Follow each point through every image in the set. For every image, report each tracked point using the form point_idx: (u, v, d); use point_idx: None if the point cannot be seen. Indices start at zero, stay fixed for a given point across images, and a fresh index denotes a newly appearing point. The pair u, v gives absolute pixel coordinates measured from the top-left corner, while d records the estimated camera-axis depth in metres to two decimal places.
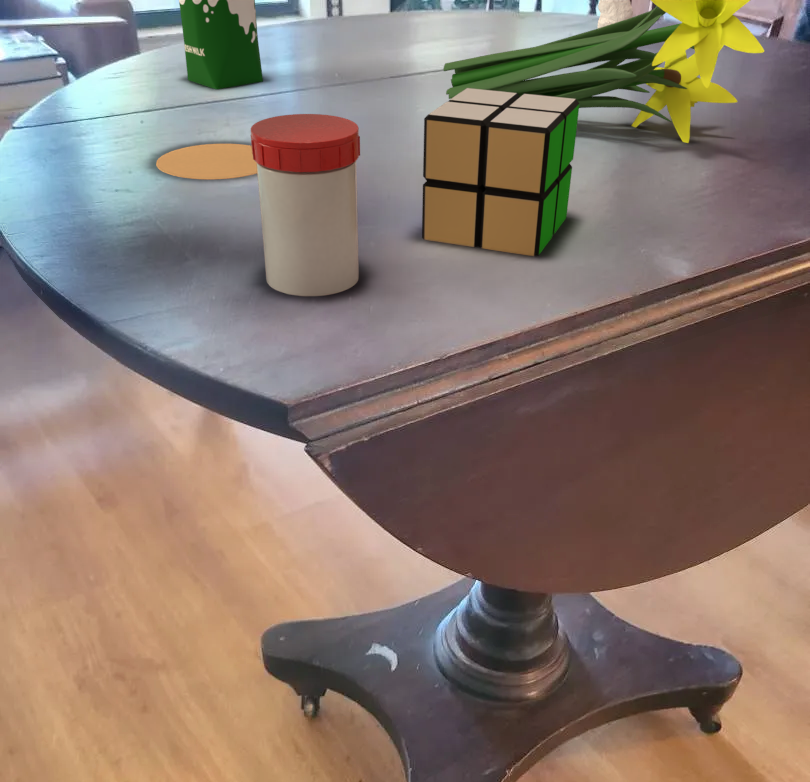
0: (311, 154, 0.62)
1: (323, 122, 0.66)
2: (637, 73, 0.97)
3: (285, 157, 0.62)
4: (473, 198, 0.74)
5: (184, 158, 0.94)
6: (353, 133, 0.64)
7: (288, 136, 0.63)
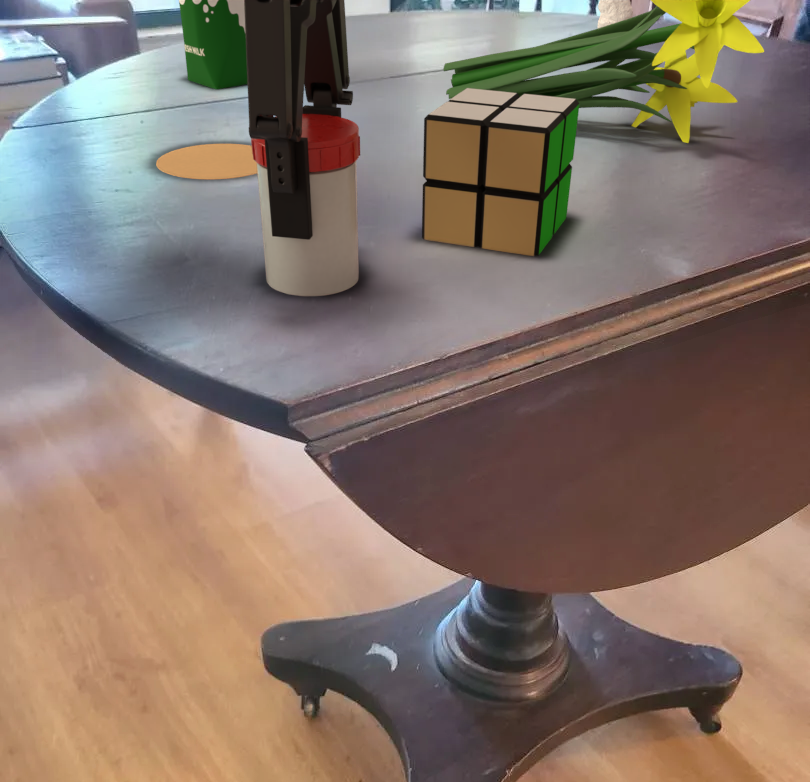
0: (311, 154, 0.62)
1: (323, 122, 0.66)
2: (637, 73, 0.97)
3: None
4: (473, 198, 0.74)
5: (184, 158, 0.94)
6: (353, 133, 0.64)
7: None
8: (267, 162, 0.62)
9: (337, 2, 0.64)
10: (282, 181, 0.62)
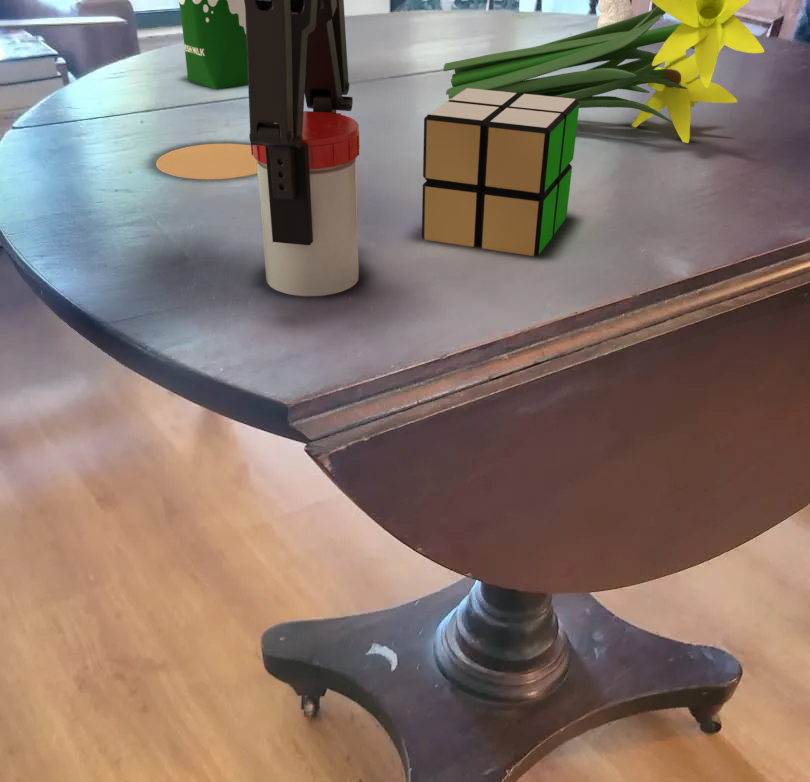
0: None
1: None
2: (637, 73, 0.97)
3: None
4: (473, 198, 0.74)
5: (184, 158, 0.94)
6: None
7: (339, 122, 0.65)
8: (268, 168, 0.62)
9: (337, 9, 0.65)
10: (283, 187, 0.62)
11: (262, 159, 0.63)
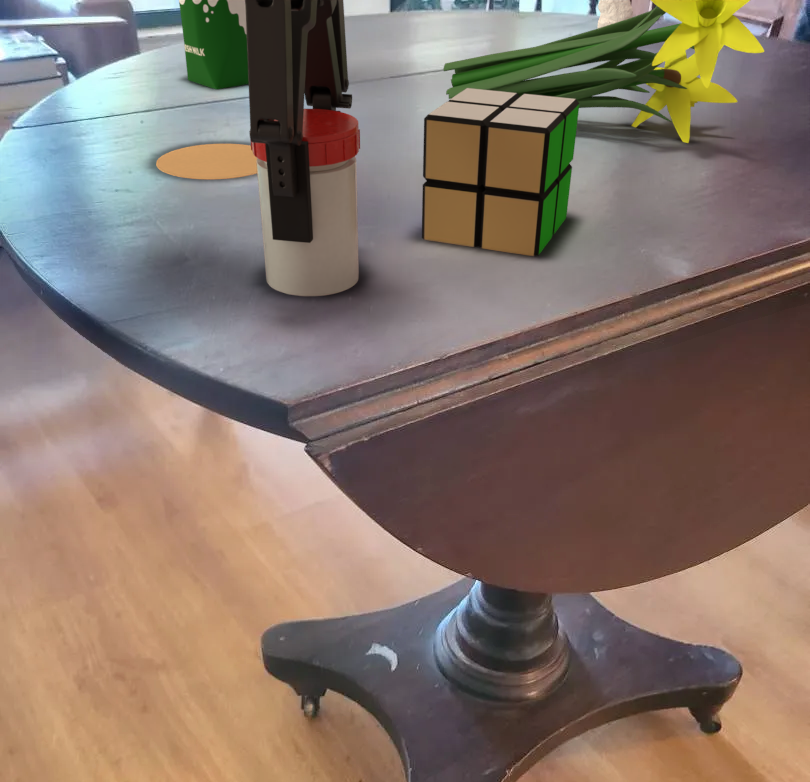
0: None
1: (317, 128, 0.63)
2: (637, 73, 0.97)
3: None
4: (473, 198, 0.74)
5: (184, 158, 0.94)
6: None
7: None
8: (268, 166, 0.62)
9: (336, 6, 0.64)
10: (283, 185, 0.62)
11: (357, 150, 0.65)
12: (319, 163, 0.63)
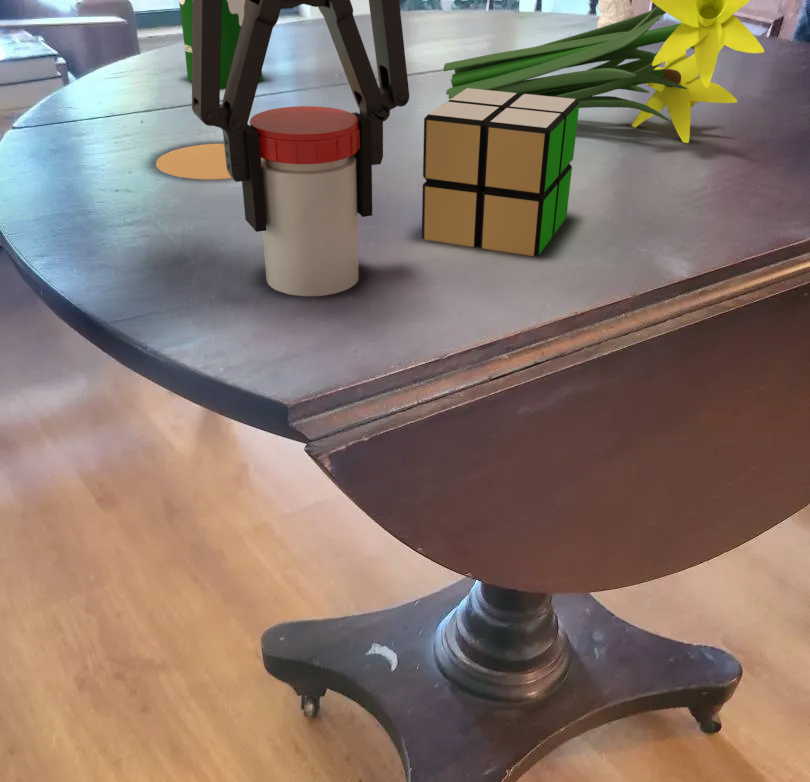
0: (329, 144, 0.62)
1: (315, 113, 0.66)
2: (637, 73, 0.97)
3: (303, 150, 0.62)
4: (473, 198, 0.74)
5: (184, 158, 0.94)
6: (357, 120, 0.64)
7: (299, 129, 0.62)
8: (371, 144, 0.66)
9: None
10: None
11: None
12: None
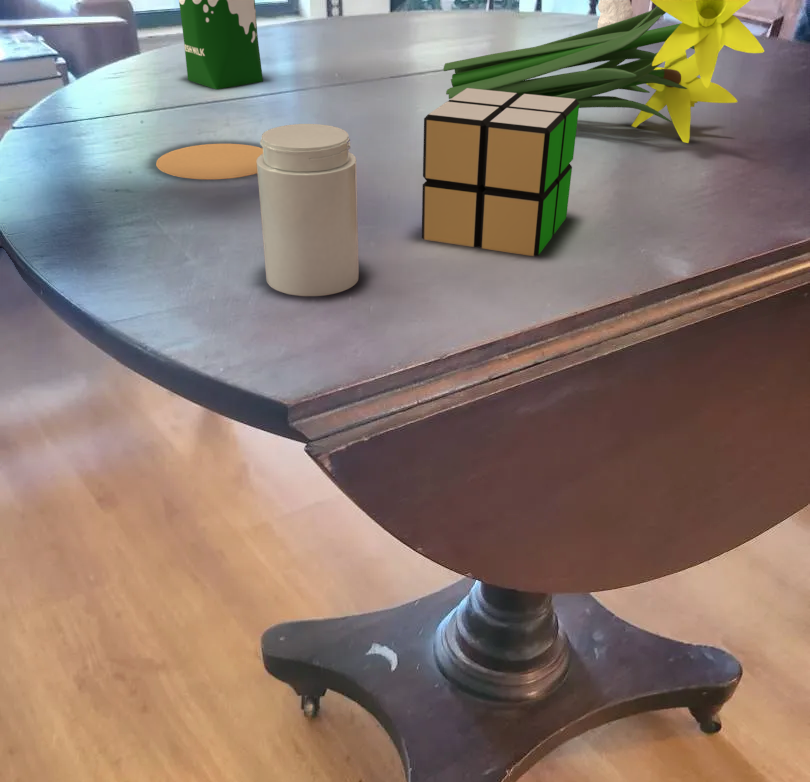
0: None
1: None
2: (637, 73, 0.97)
3: None
4: (473, 198, 0.74)
5: (184, 158, 0.94)
6: None
7: None
8: None
9: None
10: None
11: None
12: None
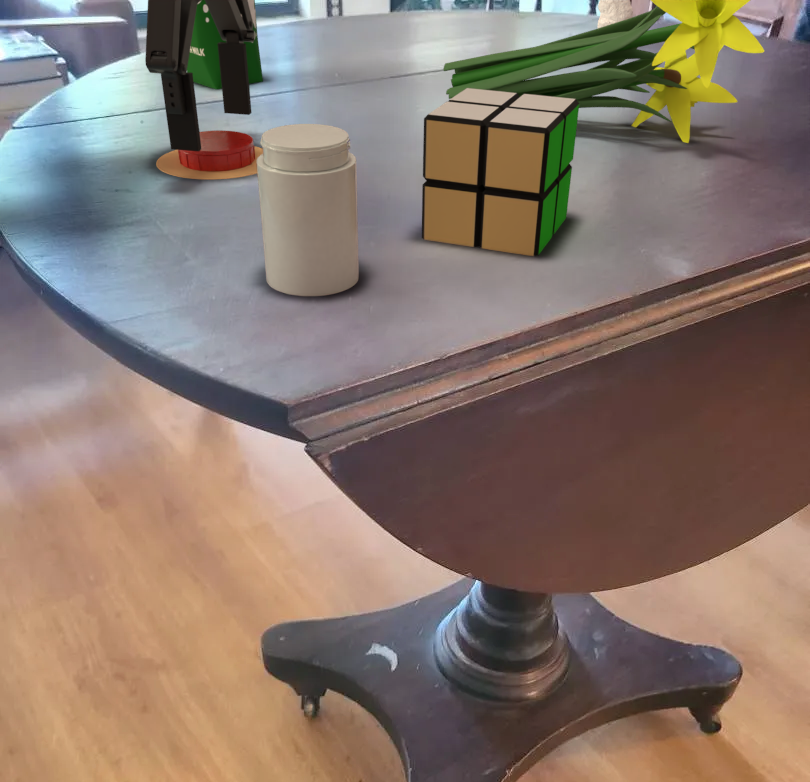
0: (252, 150, 0.93)
1: (208, 136, 0.94)
2: (637, 73, 0.97)
3: (244, 157, 0.92)
4: (473, 198, 0.74)
5: None
6: (241, 133, 0.95)
7: (232, 145, 0.92)
8: (246, 60, 0.95)
9: None
10: None
11: None
12: None
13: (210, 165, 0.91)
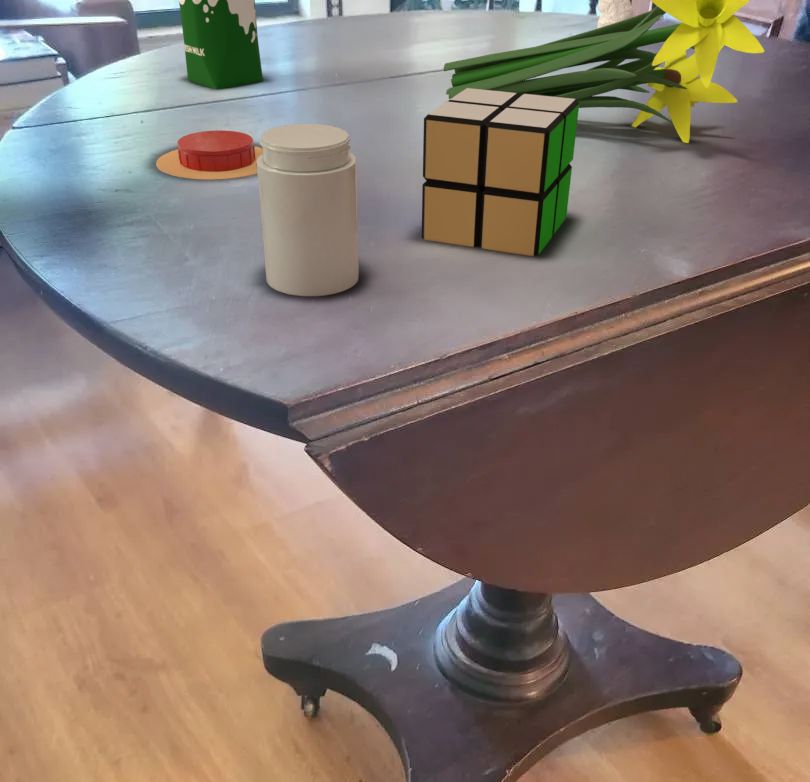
0: (252, 150, 0.93)
1: (208, 136, 0.94)
2: (637, 73, 0.97)
3: (244, 157, 0.92)
4: (472, 198, 0.74)
5: None
6: (241, 133, 0.95)
7: (232, 145, 0.92)
8: None
9: None
10: None
11: None
12: None
13: (210, 165, 0.91)
